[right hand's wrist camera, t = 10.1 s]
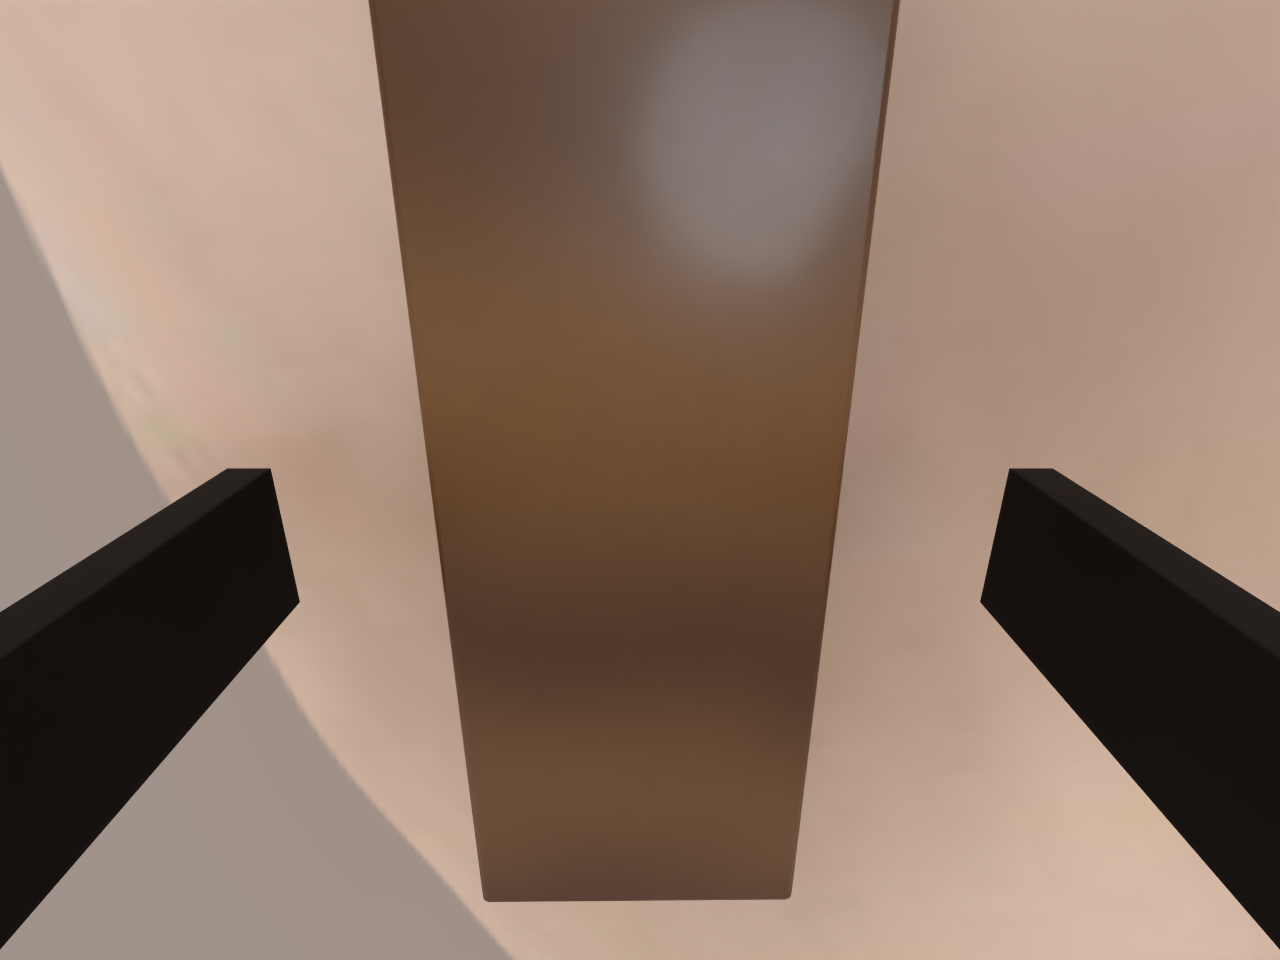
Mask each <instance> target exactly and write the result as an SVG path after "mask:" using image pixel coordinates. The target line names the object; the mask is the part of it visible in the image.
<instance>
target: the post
mask: <svg viewBox="0 0 1280 960" xmlns="http://www.w3.org/2000/svg"><path fill="white" fill-rule="evenodd" d="M368 1H369V9H370V16H371V24H372V32H373V40H374V48H375V55H376V63H377V71H378V79H379V87H380V95H381V102H382V110H383V118H384V126H385V134H386V141H387V149H388V157H389V165H390V173H391V180H392V188H393V196H394V204H395V212H396V220H397V227H398V235H399V243H400V251H401V259H402V266H403V274H404V282H405V290H406V298H407V305H408V313H409V321H410V329H411V337H412V344H413V352H414V360H415V368H416V376H417V384H418V391H419V399H420V407H421V415H422V423H423V430H424V438H425V446H426V454H427V462H428V469H429V477H430V485H431V493H432V501H433V509H434V516H435V524H436V532H437V540H438V548H439V555H440V563H441V571H442V579H443V587H444V594H445V602H446V610H447V618H448V626H449V633H450V641H451V649H452V657H453V665H454V673H455V680H456V688H457V696H458V704H459V712H460V719H461V727H462V735H463V743H464V751H465V758H466V766H467V774H468V782H469V790H470V798H471V805H472V813H473V821H474V829H475V837H476V844H477V852H478V860H479V868H480V876H481V883H482V891H483V897H484V900H485V901H488V902H528V901H649V900H769V899H788V898H790V896H791V892H792V884H793V876H794V868H795V859H796V851H797V843H798V835H799V827H800V818H801V810H802V802H803V794H804V785H805V777H806V769H807V761H808V753H809V744H810V736H811V728H812V720H813V712H814V703H815V695H816V687H817V679H818V671H819V662H820V654H821V646H822V638H823V630H824V621H825V613H826V605H827V597H828V588H829V580H830V572H831V564H832V556H833V547H834V539H835V531H836V523H837V515H838V506H839V498H840V490H841V482H842V474H843V465H844V457H845V449H846V441H847V433H848V424H849V416H850V408H851V400H852V391H853V383H854V375H855V367H856V359H857V350H858V342H859V334H860V326H861V318H862V309H863V301H864V293H865V285H866V277H867V268H868V260H869V252H870V244H871V236H872V227H873V219H874V211H875V203H876V194H877V186H878V178H879V170H880V162H881V153H882V145H883V137H884V129H885V121H886V112H887V104H888V96H889V88H890V80H891V71H892V63H893V55H894V47H895V39H896V30H897V22H898V14H899V6H900V0H368Z"/></svg>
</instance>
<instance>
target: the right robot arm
mask: <svg viewBox="0 0 1280 960" xmlns="http://www.w3.org/2000/svg"><path fill="white" fill-rule="evenodd" d="M299 602H300V601H299V596H298V592H297V587H296V583H295V578H294V573H293V569H292V564H291V560H290V555H289V551H288V546H287V541H286V537H285V532H284V528H283V523H282V519H281V514H280V510H279V505H278V500H277V496H276V491H275V487H274V482H273V478H272V473H271V469H226V470H224V471H223V472H221V473H220V474H218V475H216V476H215V477H213V478H212V479H210V480H208V481H207V482H205V483H204V484H202V485H201V486H199V487H197V488H196V489H194V490H193V491H191V492H190V493H188V494H186V495H185V496H183V497H182V498H180V499H178V500H177V501H175V502H174V503H172V504H171V505H169V506H168V507H166V508H164V509H163V510H161V511H159V512H158V513H156V514H155V515H153V516H152V517H150V518H148V519H147V520H145V521H144V522H142V523H141V524H139V525H137V526H136V527H134V528H133V529H131V530H129V531H128V532H126V533H125V534H123V535H122V536H120V537H118V538H117V539H115V540H114V541H112V542H111V543H109V544H107V545H106V546H104V547H103V548H101V549H99V550H98V551H96V552H95V553H93V554H92V555H90V556H88V557H87V558H85V559H84V560H82V561H81V562H79V563H77V564H76V565H74V566H73V567H71V568H69V569H68V570H66V571H65V572H63V573H61V574H60V575H58V576H57V577H55V578H54V579H52V580H50V581H49V582H47V583H46V584H44V585H43V586H41V587H39V588H38V589H36V590H35V591H33V592H32V593H30V594H28V595H27V596H25V597H24V598H22V599H20V600H19V601H17V602H16V603H14V604H12V605H11V606H9V607H8V608H6V609H5V610H3V611H1V612H0V949H1V948H2V947H3V945H4V944H5V943H6V942H7V941H8V940H9V939H10V937H11V936H12V935H13V934H14V933H15V932H16V930H17V929H18V928H19V927H20V926H21V925H22V924H23V922H24V921H25V920H26V919H27V918H28V917H29V915H30V914H31V913H32V912H33V911H34V910H35V908H36V907H37V906H38V905H39V904H40V903H41V901H42V900H43V899H44V898H45V897H46V896H47V894H48V893H49V892H50V891H51V890H52V889H53V887H54V886H55V885H56V884H57V883H58V882H59V881H60V879H61V878H62V877H63V876H64V875H65V874H66V873H67V871H68V870H69V869H70V868H71V867H72V866H73V864H74V863H75V862H76V861H77V860H78V859H79V857H80V856H81V855H82V854H83V853H84V852H85V850H86V849H87V848H88V847H89V846H90V845H91V844H92V842H93V841H94V840H95V839H96V838H97V837H98V835H99V834H100V833H101V832H102V831H103V830H104V828H105V827H106V826H107V825H108V824H109V823H110V821H111V820H112V819H113V818H114V817H115V816H116V815H117V813H118V812H119V811H120V810H121V809H122V808H123V806H124V805H125V804H126V803H127V802H128V801H129V799H130V798H131V797H132V796H133V795H134V794H135V792H136V791H137V790H138V789H139V788H140V787H141V786H142V784H143V783H144V782H145V781H146V780H147V779H148V777H149V776H150V775H151V774H152V773H153V772H154V770H155V769H156V768H157V767H158V766H159V765H160V763H161V762H162V761H163V760H164V759H165V758H166V757H167V755H168V754H169V753H170V752H171V751H172V750H173V748H174V747H175V746H176V745H177V744H178V743H179V741H180V740H181V739H182V738H183V737H184V736H185V735H186V733H187V732H188V731H189V730H190V729H191V728H192V726H193V725H194V724H195V723H196V722H197V721H198V719H199V718H200V717H201V716H202V715H203V714H204V712H205V711H206V710H207V709H208V708H209V707H210V706H211V704H212V703H213V702H214V701H215V700H216V699H217V697H218V696H219V695H220V694H221V693H222V692H223V690H224V689H225V688H226V687H227V686H228V685H229V683H230V682H231V681H232V680H233V679H234V678H235V677H236V675H237V674H238V673H239V672H240V671H241V670H242V668H243V667H244V666H245V665H246V664H247V663H248V661H249V660H250V659H251V658H252V657H253V656H254V655H255V653H256V652H257V651H258V650H259V649H260V648H261V646H262V645H263V644H264V643H265V642H266V641H267V639H268V638H269V637H270V636H271V635H272V634H273V632H274V631H275V630H276V629H277V628H278V627H279V626H280V624H281V623H282V622H283V621H284V620H285V619H286V617H287V616H288V615H289V614H290V613H291V612H292V610H293V609H294V608H295V607H296V606H297V605H298V603H299ZM980 602H981V603H982V605H983V606H984V607H985V608H986V609H987V610H988V612H989V613H990V614H991V615H992V616H993V617H994V619H995V620H996V621H997V622H998V623H999V624H1000V626H1001V627H1002V628H1003V629H1004V630H1005V631H1006V632H1007V634H1008V635H1009V636H1010V637H1011V638H1012V639H1013V641H1014V642H1015V643H1016V644H1017V645H1018V646H1019V648H1020V649H1021V650H1022V651H1023V652H1024V653H1025V655H1026V656H1027V657H1028V658H1029V659H1030V660H1031V661H1032V663H1033V664H1034V665H1035V666H1036V667H1037V668H1038V670H1039V671H1040V672H1041V673H1042V674H1043V675H1044V677H1045V678H1046V679H1047V680H1048V681H1049V682H1050V684H1051V685H1052V686H1053V687H1054V688H1055V689H1056V690H1057V692H1058V693H1059V694H1060V695H1061V696H1062V697H1063V699H1064V700H1065V701H1066V702H1067V703H1068V704H1069V706H1070V707H1071V708H1072V709H1073V710H1074V711H1075V712H1076V714H1077V715H1078V716H1079V717H1080V718H1081V719H1082V721H1083V722H1084V723H1085V724H1086V725H1087V726H1088V728H1089V729H1090V730H1091V731H1092V732H1093V733H1094V735H1095V736H1096V737H1097V738H1098V739H1099V740H1100V741H1101V743H1102V744H1103V745H1104V746H1105V747H1106V748H1107V750H1108V751H1109V752H1110V753H1111V754H1112V755H1113V757H1114V758H1115V759H1116V760H1117V761H1118V762H1119V764H1120V765H1121V766H1122V767H1123V768H1124V769H1125V770H1126V772H1127V773H1128V774H1129V775H1130V776H1131V777H1132V779H1133V780H1134V781H1135V782H1136V783H1137V784H1138V786H1139V787H1140V788H1141V789H1142V790H1143V791H1144V792H1145V794H1146V795H1147V796H1148V797H1149V798H1150V799H1151V801H1152V802H1153V803H1154V804H1155V805H1156V806H1157V808H1158V809H1159V810H1160V811H1161V812H1162V813H1163V815H1164V816H1165V817H1166V818H1167V819H1168V820H1169V821H1170V823H1171V824H1172V825H1173V826H1174V827H1175V828H1176V830H1177V831H1178V832H1179V833H1180V834H1181V835H1182V837H1183V838H1184V839H1185V840H1186V841H1187V842H1188V844H1189V845H1190V846H1191V847H1192V848H1193V849H1194V850H1195V852H1196V853H1197V854H1198V855H1199V856H1200V857H1201V859H1202V860H1203V861H1204V862H1205V863H1206V864H1207V866H1208V867H1209V868H1210V869H1211V870H1212V871H1213V873H1214V874H1215V875H1216V876H1217V877H1218V878H1219V879H1220V881H1221V882H1222V883H1223V884H1224V885H1225V886H1226V888H1227V889H1228V890H1229V891H1230V892H1231V893H1232V895H1233V896H1234V897H1235V898H1236V899H1237V900H1238V901H1239V903H1240V904H1241V905H1242V906H1243V907H1244V908H1245V910H1246V911H1247V912H1248V913H1249V914H1250V915H1251V917H1252V918H1253V919H1254V920H1255V921H1256V922H1257V924H1258V925H1259V926H1260V927H1261V928H1262V929H1263V930H1264V932H1265V933H1266V934H1267V935H1268V936H1269V937H1270V939H1271V940H1272V941H1273V942H1274V943H1275V944H1276V946H1277V947H1278V948H1279V949H1280V612H1279V611H1277V610H1275V609H1274V608H1272V607H1271V606H1269V605H1268V604H1266V603H1264V602H1263V601H1261V600H1260V599H1258V598H1256V597H1255V596H1253V595H1252V594H1250V593H1249V592H1247V591H1245V590H1244V589H1242V588H1241V587H1239V586H1237V585H1236V584H1234V583H1233V582H1231V581H1230V580H1228V579H1226V578H1225V577H1223V576H1222V575H1220V574H1219V573H1217V572H1215V571H1214V570H1212V569H1211V568H1209V567H1207V566H1206V565H1204V564H1203V563H1201V562H1200V561H1198V560H1196V559H1195V558H1193V557H1192V556H1190V555H1188V554H1187V553H1185V552H1184V551H1182V550H1181V549H1179V548H1177V547H1176V546H1174V545H1173V544H1171V543H1170V542H1168V541H1166V540H1165V539H1163V538H1162V537H1160V536H1158V535H1157V534H1155V533H1154V532H1152V531H1151V530H1149V529H1147V528H1146V527H1144V526H1143V525H1141V524H1139V523H1138V522H1136V521H1135V520H1133V519H1132V518H1130V517H1128V516H1127V515H1125V514H1124V513H1122V512H1121V511H1119V510H1117V509H1116V508H1114V507H1113V506H1111V505H1109V504H1108V503H1106V502H1105V501H1103V500H1102V499H1100V498H1098V497H1097V496H1095V495H1094V494H1092V493H1090V492H1089V491H1087V490H1086V489H1084V488H1083V487H1081V486H1079V485H1078V484H1076V483H1075V482H1073V481H1072V480H1070V479H1068V478H1067V477H1065V476H1064V475H1062V474H1060V473H1059V472H1057V471H1056V470H1054V469H1009V473H1008V478H1007V482H1006V487H1005V491H1004V496H1003V500H1002V505H1001V510H1000V514H999V519H998V523H997V528H996V532H995V537H994V541H993V546H992V551H991V555H990V560H989V564H988V569H987V573H986V578H985V583H984V587H983V592H982V596H981V601H980Z"/></svg>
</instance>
